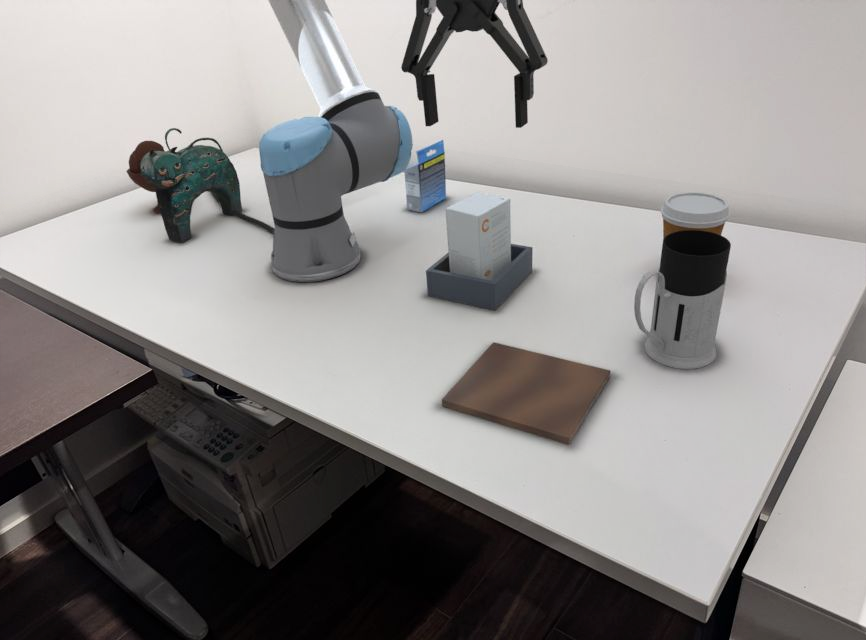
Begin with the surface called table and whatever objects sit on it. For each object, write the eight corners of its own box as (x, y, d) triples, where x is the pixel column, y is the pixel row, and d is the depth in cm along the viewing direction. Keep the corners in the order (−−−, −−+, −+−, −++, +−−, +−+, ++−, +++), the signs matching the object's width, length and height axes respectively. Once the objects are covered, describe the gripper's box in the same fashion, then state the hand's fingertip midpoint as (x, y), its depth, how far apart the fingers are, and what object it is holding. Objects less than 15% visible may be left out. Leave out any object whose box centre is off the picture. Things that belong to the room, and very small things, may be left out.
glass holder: (730, 351, 85) (752, 242, 77) (657, 395, 79) (672, 281, 71) (673, 325, 92) (688, 221, 83) (601, 363, 85) (609, 256, 77)
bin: (427, 295, 104) (425, 270, 101) (468, 260, 113) (467, 236, 111) (495, 310, 98) (494, 284, 96) (532, 272, 108) (532, 247, 106)
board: (441, 406, 80) (441, 399, 79) (493, 348, 90) (493, 341, 89) (569, 444, 73) (569, 437, 72) (610, 376, 83) (610, 370, 82)
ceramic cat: (178, 247, 127) (146, 141, 116) (155, 242, 130) (122, 138, 119) (251, 210, 141) (228, 113, 130) (228, 207, 144) (204, 111, 133)
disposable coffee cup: (722, 292, 98) (737, 215, 91) (654, 290, 100) (664, 214, 93) (713, 264, 106) (726, 191, 99) (650, 262, 108) (659, 190, 101)
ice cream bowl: (203, 203, 147) (184, 134, 139) (161, 221, 139) (139, 149, 131) (171, 197, 152) (152, 130, 144) (130, 214, 144) (106, 144, 136)
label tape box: (432, 195, 141) (427, 136, 134) (448, 198, 139) (444, 139, 132) (406, 210, 135) (400, 149, 128) (422, 213, 133) (417, 151, 126)
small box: (480, 267, 110) (477, 190, 103) (512, 276, 106) (511, 197, 99) (449, 286, 105) (444, 207, 98) (481, 297, 101) (478, 215, 94)
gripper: (362, -41, 85) (385, 130, 96) (553, -61, 74) (553, 133, 85) (391, -45, 91) (409, 117, 101) (572, -64, 80) (570, 118, 91)
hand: (475, 124), depth 93 cm, fingers open, 13 cm apart
